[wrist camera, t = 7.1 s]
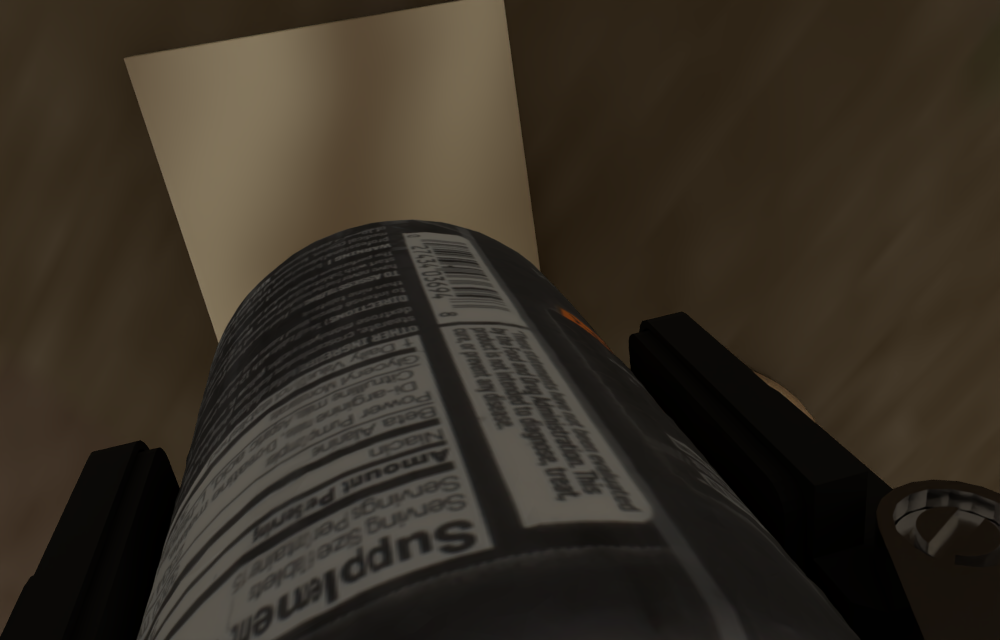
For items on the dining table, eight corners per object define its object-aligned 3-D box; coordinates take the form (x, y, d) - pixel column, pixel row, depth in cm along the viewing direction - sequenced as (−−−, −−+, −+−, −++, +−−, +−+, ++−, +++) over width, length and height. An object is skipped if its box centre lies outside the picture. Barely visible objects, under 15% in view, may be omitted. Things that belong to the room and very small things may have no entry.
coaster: (497, -7, 22) (502, -7, 21) (542, 315, 26) (547, 322, 26) (128, 56, 21) (123, 58, 20) (237, 386, 25) (236, 395, 24)
